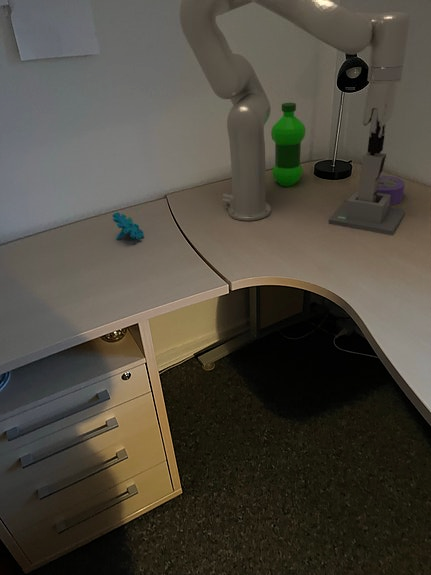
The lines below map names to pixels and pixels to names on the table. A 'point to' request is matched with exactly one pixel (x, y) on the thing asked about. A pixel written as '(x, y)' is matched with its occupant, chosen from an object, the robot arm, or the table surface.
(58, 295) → the table surface
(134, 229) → the teal bumpy irregular piece
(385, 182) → the tape roll
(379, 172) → the vintage mobile phone
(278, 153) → the plastic bottle
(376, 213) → the charging dock
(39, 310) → the table surface
